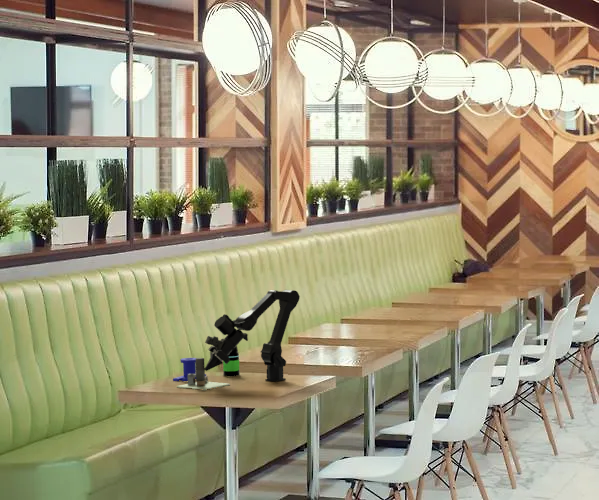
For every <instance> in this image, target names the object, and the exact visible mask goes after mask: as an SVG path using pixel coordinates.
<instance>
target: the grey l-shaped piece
mask: <svg viewBox="0 0 599 500" xmlns="http://www.w3.org/2000/svg"><path fill="white" fill-rule="evenodd" d="M195 358H196V363H195V365H196V380H195V382H197V386H204V385H205V383H206V382H209V381H208V380H209V379H208V378H209V377H208V376H207V375H206V376H205V374H206V373H205V371H206V370H205V367H206V365H205V358H204V357H195Z"/></svg>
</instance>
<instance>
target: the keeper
mask: <svg viewBox="0 0 599 500" xmlns="http://www.w3.org/2000/svg"><path fill="white" fill-rule="evenodd" d="M187 376H188V382H187V384H188V385H195V382H196V380H195V377H196V374H188V375H187Z"/></svg>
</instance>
